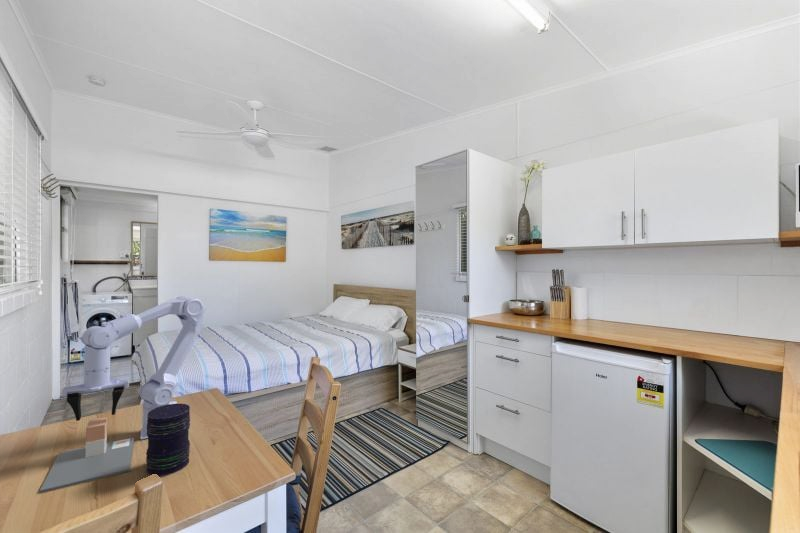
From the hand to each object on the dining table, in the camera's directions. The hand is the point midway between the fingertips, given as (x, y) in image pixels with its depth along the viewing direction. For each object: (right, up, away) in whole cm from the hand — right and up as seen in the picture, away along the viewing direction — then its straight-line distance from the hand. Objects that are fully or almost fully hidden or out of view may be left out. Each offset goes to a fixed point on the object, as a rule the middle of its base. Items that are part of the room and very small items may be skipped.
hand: (96, 416), depth 103 cm
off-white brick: (0, -10, 0) cm, 10 cm away
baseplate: (+3, -11, -5) cm, 12 cm away
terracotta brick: (0, -6, 0) cm, 6 cm away
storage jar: (+24, -11, -5) cm, 27 cm away
